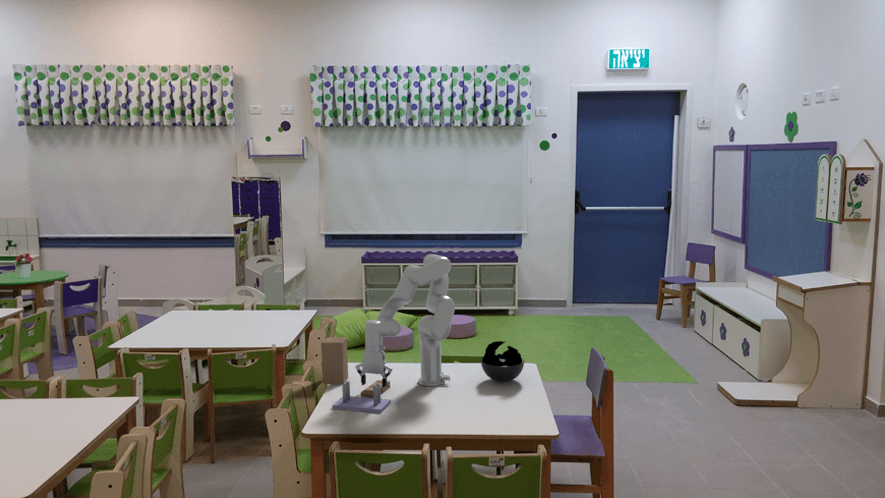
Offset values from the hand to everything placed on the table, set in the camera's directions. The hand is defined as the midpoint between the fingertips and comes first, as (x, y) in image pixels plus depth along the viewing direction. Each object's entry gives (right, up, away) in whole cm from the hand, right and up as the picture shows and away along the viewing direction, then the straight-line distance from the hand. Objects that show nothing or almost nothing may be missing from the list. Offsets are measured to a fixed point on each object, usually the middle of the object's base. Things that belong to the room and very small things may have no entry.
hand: (373, 385), depth 309 cm
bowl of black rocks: (+59, -1, +14) cm, 60 cm away
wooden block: (-20, -2, +19) cm, 28 cm away
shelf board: (+1, -4, +1) cm, 4 cm away
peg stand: (-4, -6, -14) cm, 16 cm away
